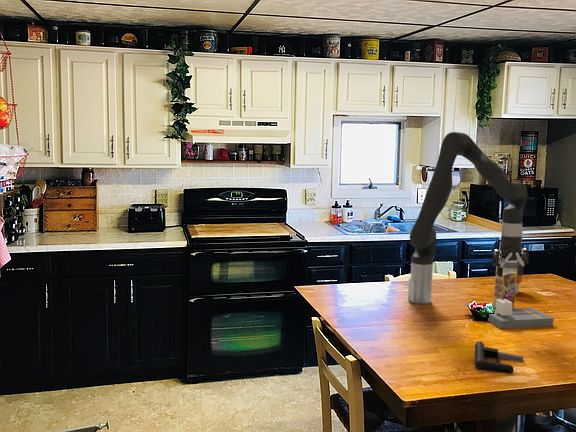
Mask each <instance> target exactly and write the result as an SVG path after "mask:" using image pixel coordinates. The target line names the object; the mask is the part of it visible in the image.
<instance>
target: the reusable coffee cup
mask: <svg viewBox="0 0 576 432" xmlns="http://www.w3.org/2000/svg"><path fill="white" fill-rule="evenodd" d="M517 265H518V264H517V262H516V261H513V260H512V261H507V262H506V263H505V264H504V265H503V267H502V268H503V272H508V271H511V272H515V273H517ZM524 267H525V265H524V266H523V269H524ZM495 268H496V270H495V274H496V273H497V266H495ZM523 275H524V273H523V274H522V276H519V275H517V276H516V287H515V295H516V294H519V290H520V285H521V283H522V279H523Z"/></svg>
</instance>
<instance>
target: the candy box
mask: <svg viewBox="0 0 576 432" xmlns="http://www.w3.org/2000/svg"><path fill="white" fill-rule="evenodd" d="M516 276H517V273H515V272H511V271H508V272H503V276H502V277H499V276H498V275H497V273H496V272H495V280H494V293H493V294H494V295H493V305H492V307H493V306H495V307H496V300H499V299H506V300H508V301H510V302H512V309H514V307H515V297H516V296H515V295H516V294H515V287H516Z"/></svg>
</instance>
